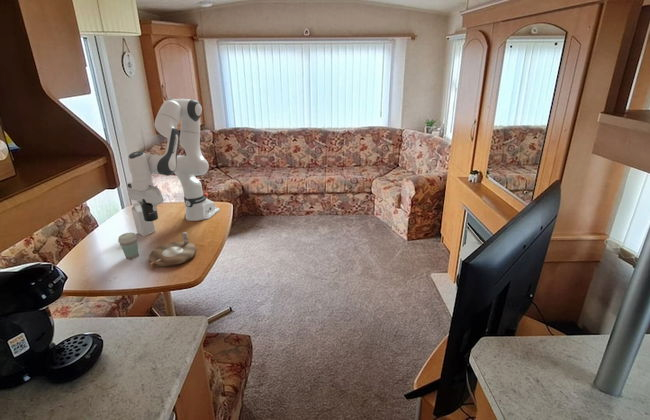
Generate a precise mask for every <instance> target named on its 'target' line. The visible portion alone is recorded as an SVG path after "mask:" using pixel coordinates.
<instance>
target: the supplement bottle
mask: <svg viewBox="0 0 650 420" xmlns="http://www.w3.org/2000/svg"><path fill="white" fill-rule="evenodd" d="M142 202H143V203H142V204H141V207H142V212H143V217H144V220H145V221H153V222H154V221H156V220H158V219H159V215H158V214H159V213H158V209H157V210H156V211H152V208H153V205H152V204H151V203H147V202H146V201H145V199H142Z"/></svg>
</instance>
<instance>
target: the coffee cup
mask: <svg viewBox="0 0 650 420" xmlns="http://www.w3.org/2000/svg"><path fill="white" fill-rule="evenodd" d="M117 241H118V243H119V244H120V247H121V249H122V252H123V254H124V257H125V259H126V260H135V259H137V258H138V257H139V256H140V255H139V246H138V236H137V235H136V233H134V232H125V233H122V234H121V235H119V236H118V239H117Z"/></svg>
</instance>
